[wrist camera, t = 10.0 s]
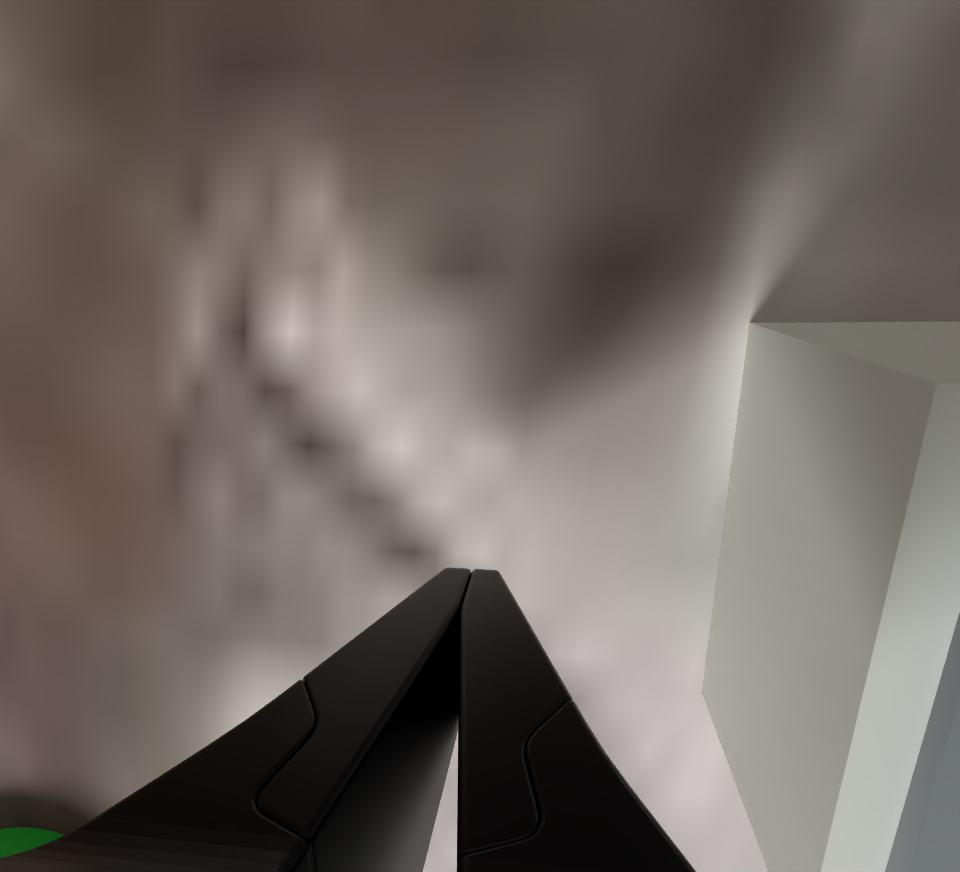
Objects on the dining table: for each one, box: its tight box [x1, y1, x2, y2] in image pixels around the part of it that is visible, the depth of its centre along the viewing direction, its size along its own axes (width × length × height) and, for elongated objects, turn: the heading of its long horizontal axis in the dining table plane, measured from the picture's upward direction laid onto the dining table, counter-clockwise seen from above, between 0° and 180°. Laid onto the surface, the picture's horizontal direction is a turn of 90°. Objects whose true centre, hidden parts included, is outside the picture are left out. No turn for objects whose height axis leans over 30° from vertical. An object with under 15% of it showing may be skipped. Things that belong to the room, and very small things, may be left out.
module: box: [702, 321, 960, 872], centre depth 8 cm, size 5×8×5 cm, turn 1°
